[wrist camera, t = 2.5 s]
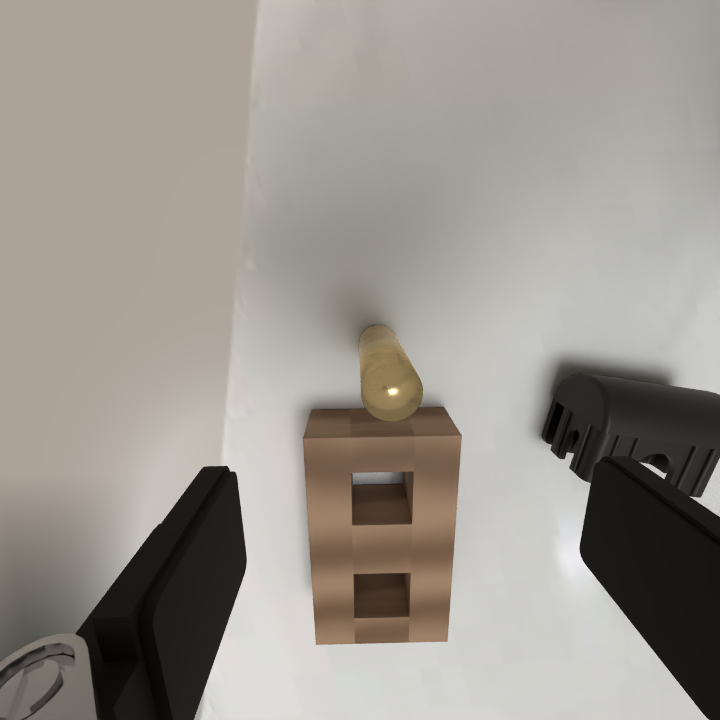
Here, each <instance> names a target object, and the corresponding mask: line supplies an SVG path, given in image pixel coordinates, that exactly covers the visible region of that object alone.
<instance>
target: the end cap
mask: <svg viewBox="0 0 720 720" xmlns="http://www.w3.org/2000/svg"><path fill="white" fill-rule="evenodd" d="M542 438H543V440H544V441H545V442H546V443H548V444H551V445H552V446H551V451H552V452H553V453H554V454H555V455H556V456H557V457H558V458H559V459H565V456H566V453H567V452H569V453H574V456H573V459H572V462H571V465H570V467H569V468H570V469H571V470H572V471H573V472H574V473H575V474H576V475H577V476H578V477H579V478H581V479H582V480H584V481H586V482H589V483H591V480H592V474H593V469H594V465H595V464H596V463H598V462H599V461H600V459H601V458H602V457H604V456H629V457H632V458H633V459H635V460H636V461H638V462H641V463H648V464H651V465H653V466H654V467H656V468H657V469H659V470H660V471H662V472H663V473H667V475H666V477H665V479H664V480H666V481H667V482H669V483H670V484H672V485H673V486H675V487H676V488H678V489H679V490H681V491H682V492H683V493H685V494H686V495H688V496H691V497H701V496H702V494H703V492H704V490H705V488H706V486H707V483H708V481H709V479H710V477H711V475H712V473H713V471H714V469H715V467H716V464H717V462H718V460H719V458H720V395H719V394H716V393H712V392H708V391H702V390H695V389H689V388H682V387H675V386H669V385H662V384H656V383H649V382H642V381H636V380H629V379H622V378H616V377H609V376H602V375H596V374H589V373H578V374H575V375H572V376H570V377H569V378H567V379H566V380H565V381H564V382H563V383H562V384H561V386H560V387H559V388H558V390H557V392H556V394H555V397H554V398H553V402H552V405H551V408H550V411H549V414H548V417H547V420H546V423H545V426H544V430H543V433H542Z"/></svg>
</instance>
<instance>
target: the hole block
mask: <svg viewBox="0 0 720 720" xmlns="http://www.w3.org/2000/svg"><path fill="white" fill-rule="evenodd" d="M461 438H462V435H461V434H460V432H459V431H458V429H457V427H456V426H455V424H454V423H453V421H452V419H451V418H450V416H449V415H448V413H447V411H446V410H445V408H444V407H430V408H417V409H416V411H415V412H414V413H413V414H411V415H410V416H408V417H407V418H405V419H402V420H399V421H384V420H380V419H378V418H376V417H374V416H373V415H372V414H370V413H369V412H368V410H367V409H321V410H311V414H310V417H309V420H308V424H307V427H306V430H305V434H304V437H303V446H304V462H305V478H306V494H307V510H308V526H309V542H310V558H311V573H312V589H313V605H314V621H315V637H316V645H324V644H365V643H405V642H446V641H447V640H448V626H449V611H450V597H451V583H452V568H453V554H454V539H455V525H456V510H457V496H458V481H459V467H460V452H461ZM358 472H404V477H403V484H374V485H353V481H352V473H358Z"/></svg>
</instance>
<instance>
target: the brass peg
mask: <svg viewBox="0 0 720 720" xmlns="http://www.w3.org/2000/svg"><path fill="white" fill-rule="evenodd" d="M359 356H360V377H361V396H362V401H363V404H364V406H365V408H366V409H367V410H368V412H369V413H370V414H372V415H373V416H374V417H376V418H378V419H380V420H384V421H399V420H402V419H405V418H407V417H408V416H410V415H411V414H413V413H414V412H415V411H416V409H417V408H418V407H419V405H420V403H421V400H422V396H423V387H422V383H421V380H420V378H419V376H418V375H417V373H416V371H415V369H414V368H413V366H412V364H411V362H410V361H409V359H408V357H407V355H406V354H405V352H404V350H403V348H402V347H401V345H400V343H399V341H398V340H397V338H396V336H395V334H394V333H393V331H392V330H391V329H389V328H388V327H386V326H383V325H374V326H371V327H369V328H367V329H366V330H365V331H364V332H363V333H362V334H361V336H360V339H359Z"/></svg>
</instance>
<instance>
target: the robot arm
mask: <svg viewBox="0 0 720 720" xmlns="http://www.w3.org/2000/svg"><path fill="white" fill-rule="evenodd" d="M580 554H581V557H582V559H583V561H584V563H585V564H586V566H587V567H588V568H589V569H590V571H591V572H592V573H593V574H594V576H595V577H596V578H597V580H598V581H599V582H600V583H601V585H602V586H603V587H604V588H605V590H606V591H607V592H608V594H609V595H610V596H611V597H612V599H613V600H614V601H615V602H616V604H617V605H618V606H619V607H620V609H621V610H622V611H623V613H624V614H625V615H626V616H627V618H628V619H629V620H630V621H631V623H632V624H633V625H634V627H635V628H636V629H637V630H638V632H639V633H640V634H641V635H642V637H643V638H644V639H645V640H646V642H647V643H648V644H649V646H650V647H651V648H652V649H653V651H654V652H655V653H656V654H657V656H658V657H659V658H660V660H661V661H662V662H663V663H664V665H665V666H666V667H667V668H668V670H669V671H670V672H671V674H672V675H673V676H674V677H675V679H676V680H677V681H678V682H679V684H680V685H681V686H682V687H683V689H684V690H685V691H686V693H687V694H688V695H689V696H690V698H691V699H692V700H693V701H694V703H695V704H696V705H697V707H698V708H699V709H700V710H701V712H702V713H703V714H704V715H705V716H706V717H707V718H708V719H709V720H720V517H719V516H717V515H716V514H714V513H713V512H711V511H710V510H708V509H707V508H706V507H704V506H703V505H701V504H700V503H698V502H697V501H695V500H694V499H692V498H691V497H689V496H688V495H686V494H685V493H683V492H682V491H681V490H679V489H678V488H676V487H675V486H673V485H672V484H670V483H669V482H667V481H666V480H664V479H663V478H661V477H660V476H658V475H657V474H655V473H654V472H653V471H651V470H650V469H648V468H647V467H645V466H644V465H642V464H641V463H639V462H638V461H636V460H635V459H633V458H632V457H629V456H604V457H602V458H601V459H600V461H599V462H598V463H596V464H595V465H594V469H593V474H592V480H591V486H590V491H589V497H588V502H587V508H586V514H585V519H584V525H583V530H582V536H581V542H580ZM246 562H247V557H246V548H245V540H244V532H243V523H242V515H241V506H240V498H239V490H238V481H237V475H236V472H230V470H229V468H228V467H227V466H208V467H203V468H202V469H201V471H200V472H199V473H198V475H197V476H196V477H195V479H194V480H193V481H192V483H191V484H190V485H189V487H188V488H187V489H186V491H185V492H184V494H183V495H182V496H181V497H180V499H179V500H178V502H177V503H176V504H175V506H174V507H173V508H172V510H171V511H170V512H169V514H168V515H167V516H166V518H165V519H164V521H163V522H162V523H161V524H159V525H158V526H157V527H156V528H155V529H154V530H153V531H152V533H151V534H150V535H149V537H148V538H147V539H146V541H145V542H144V543H143V545H142V546H141V547H140V549H139V550H138V551H137V553H136V554H135V555H134V557H133V558H132V559H131V561H130V562H129V563H128V564H127V566H126V567H125V569H124V570H123V571H122V572H121V574H120V575H119V576H118V578H117V579H116V580H115V582H114V583H113V584H112V586H111V587H110V588H109V590H108V591H107V592H106V594H105V595H104V597H103V598H102V599H101V600H100V602H99V603H98V604H97V606H96V607H95V609H94V610H93V611H92V612H91V614H90V615H89V616H88V618H87V619H86V620H85V622H84V623H83V624H82V626H81V627H80V629H79V630H78V631H77V632H76V634H63V633H62V634H57V635H53V636H48V637H45V638H43V639H40V640H38V641H35V642H33V643H31V644H29V645H27V646H25V647H23V648H22V649H20V650H18V651H17V652H15V653H13V654H12V655H10V656H8V657H7V658H6V659H4V660H3V661H2V662H1V663H0V720H194V718H195V715H196V712H197V709H198V706H199V703H200V700H201V697H202V695H203V692H204V689H205V686H206V683H207V680H208V677H209V674H210V672H211V669H212V666H213V663H214V660H215V657H216V654H217V651H218V649H219V646H220V643H221V640H222V637H223V634H224V631H225V628H226V626H227V623H228V620H229V617H230V614H231V611H232V608H233V606H234V603H235V600H236V597H237V594H238V591H239V588H240V585H241V583H242V580H243V577H244V574H245V570H246Z"/></svg>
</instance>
